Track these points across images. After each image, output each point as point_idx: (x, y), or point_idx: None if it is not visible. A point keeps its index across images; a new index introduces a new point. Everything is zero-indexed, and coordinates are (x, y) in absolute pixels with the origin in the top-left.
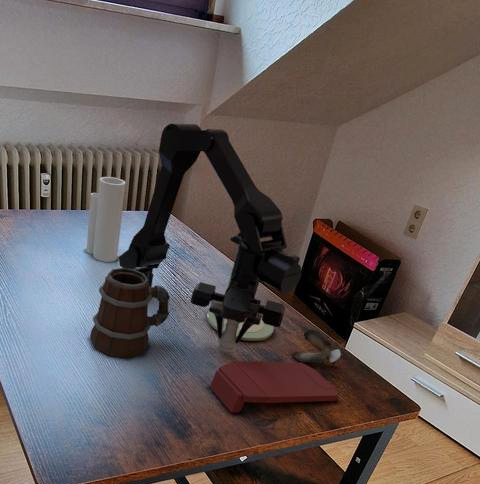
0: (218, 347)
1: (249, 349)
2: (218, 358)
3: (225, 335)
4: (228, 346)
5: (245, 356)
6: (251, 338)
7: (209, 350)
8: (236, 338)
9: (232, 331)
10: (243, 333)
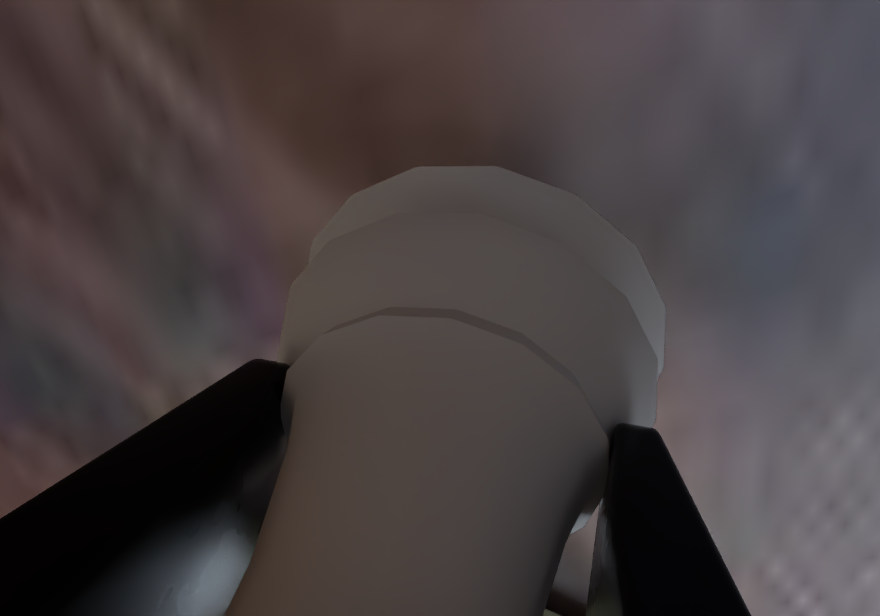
0: (621, 246)
1: None
2: (590, 26)
3: (501, 467)
4: (410, 238)
5: (198, 258)
6: None
7: (768, 232)
8: None
9: (302, 573)
10: (3, 537)
